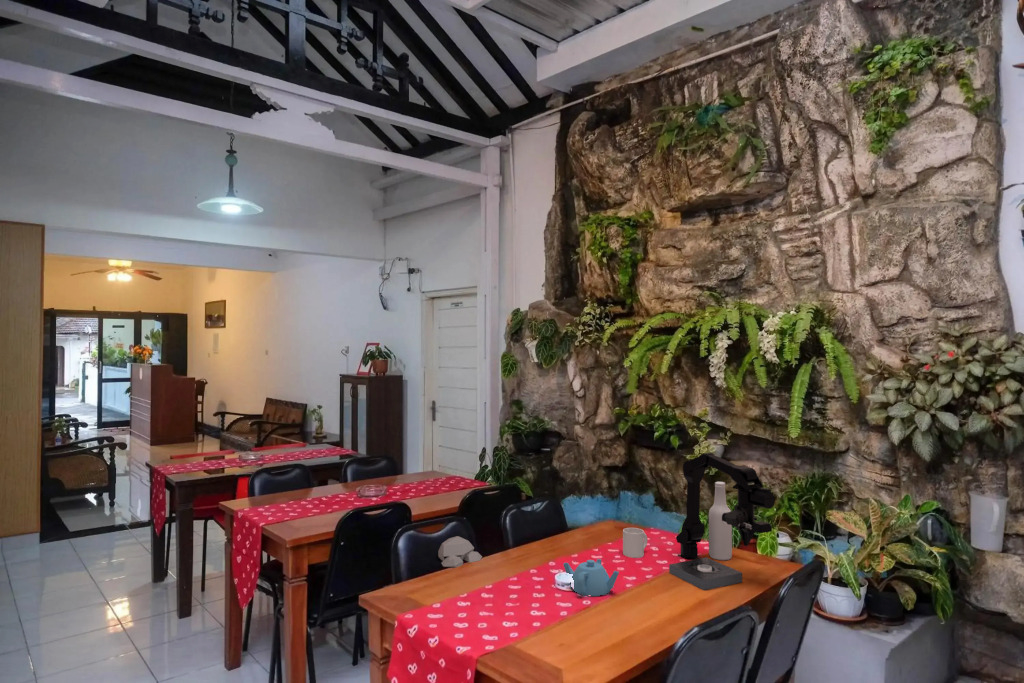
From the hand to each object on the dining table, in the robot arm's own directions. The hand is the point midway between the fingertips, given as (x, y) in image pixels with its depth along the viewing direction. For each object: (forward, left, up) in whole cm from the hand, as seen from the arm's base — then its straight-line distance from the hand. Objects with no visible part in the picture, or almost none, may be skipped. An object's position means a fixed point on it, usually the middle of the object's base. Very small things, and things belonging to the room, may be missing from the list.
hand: (746, 545), depth 227 cm
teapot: (-14, -58, -12) cm, 61 cm away
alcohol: (-22, +9, -12) cm, 27 cm away
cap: (-7, -13, -12) cm, 19 cm away
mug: (-38, -20, -12) cm, 45 cm away
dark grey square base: (-7, -13, -12) cm, 19 cm away
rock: (-60, -91, -12) cm, 109 cm away
